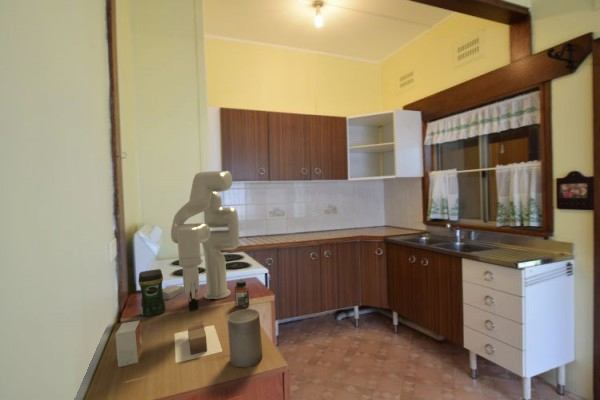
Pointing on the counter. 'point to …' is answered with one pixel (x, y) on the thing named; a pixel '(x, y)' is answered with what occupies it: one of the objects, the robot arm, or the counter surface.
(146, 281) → the coffee jar
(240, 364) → the pillar candle
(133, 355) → the small box
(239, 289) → the supplement bottle
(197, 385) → the counter surface
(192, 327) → the walnut block
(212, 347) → the cream mat
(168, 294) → the stone block
